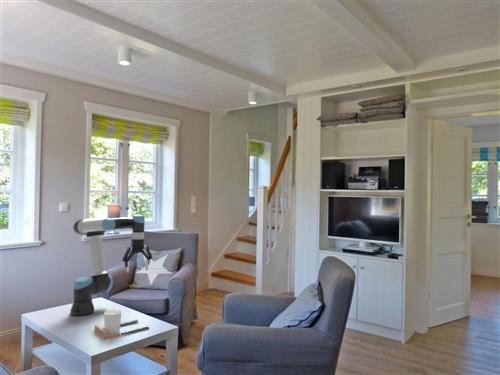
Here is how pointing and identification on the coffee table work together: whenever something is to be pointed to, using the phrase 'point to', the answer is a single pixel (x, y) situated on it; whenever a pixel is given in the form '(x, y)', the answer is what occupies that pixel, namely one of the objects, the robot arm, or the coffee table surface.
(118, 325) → the candle holder
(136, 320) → the guide rails
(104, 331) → the orange u-shaped bracket
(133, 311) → the coffee table surface
